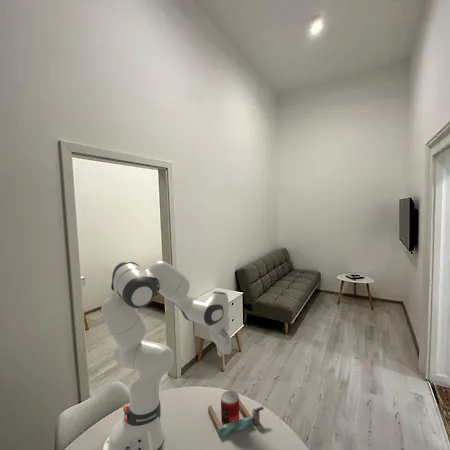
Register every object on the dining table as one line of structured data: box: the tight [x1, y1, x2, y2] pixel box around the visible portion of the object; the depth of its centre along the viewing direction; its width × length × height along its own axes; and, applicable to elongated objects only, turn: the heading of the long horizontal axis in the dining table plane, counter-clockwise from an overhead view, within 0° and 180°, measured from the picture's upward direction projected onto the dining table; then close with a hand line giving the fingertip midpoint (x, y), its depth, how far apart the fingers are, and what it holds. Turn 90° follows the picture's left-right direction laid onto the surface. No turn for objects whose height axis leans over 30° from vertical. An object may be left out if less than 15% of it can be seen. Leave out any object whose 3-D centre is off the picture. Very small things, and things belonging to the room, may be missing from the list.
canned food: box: [220, 390, 240, 425], centre depth 110 cm, size 8×8×11 cm
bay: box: [207, 398, 264, 438], centre depth 113 cm, size 20×15×6 cm
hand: (220, 355), depth 122 cm, fingers closed
